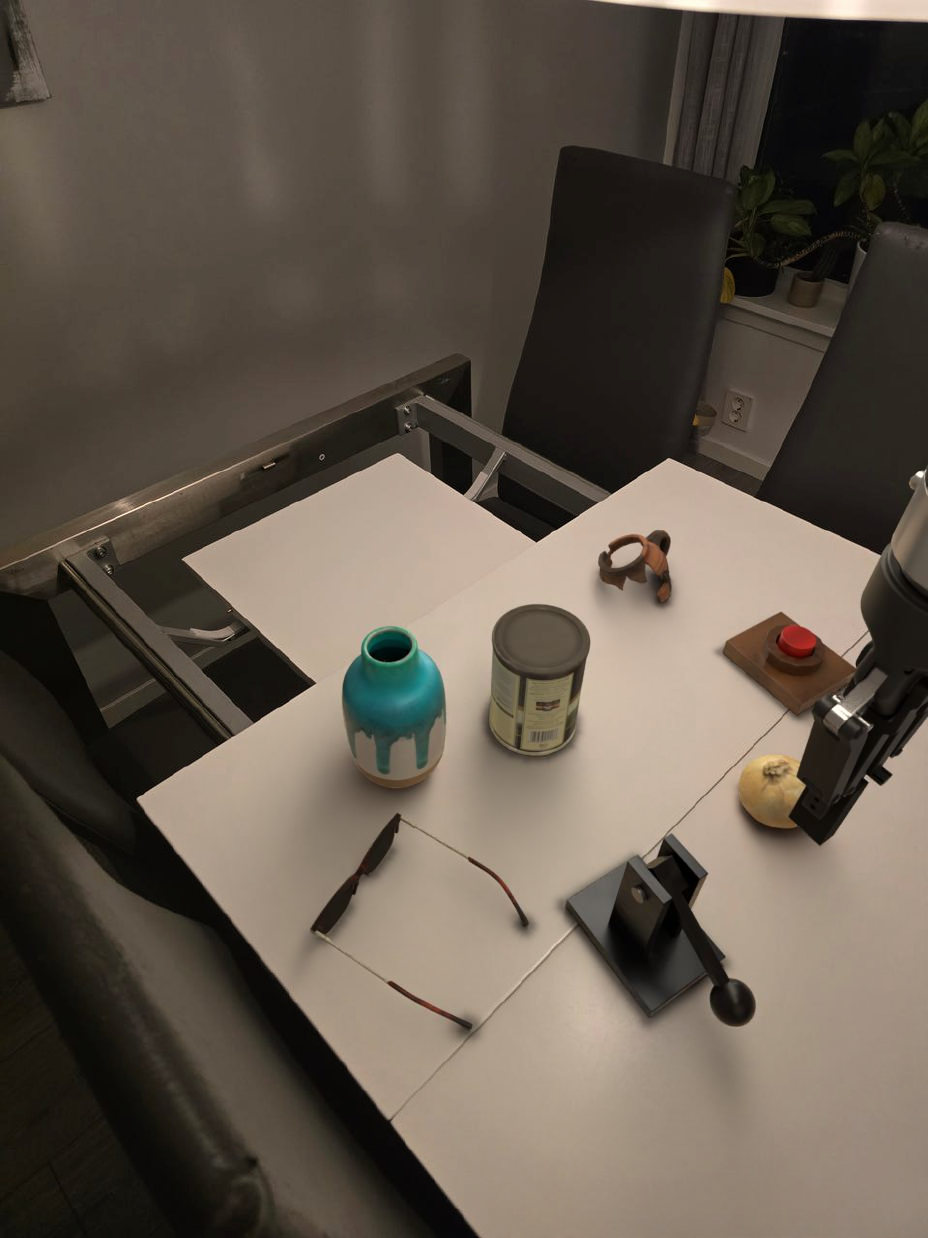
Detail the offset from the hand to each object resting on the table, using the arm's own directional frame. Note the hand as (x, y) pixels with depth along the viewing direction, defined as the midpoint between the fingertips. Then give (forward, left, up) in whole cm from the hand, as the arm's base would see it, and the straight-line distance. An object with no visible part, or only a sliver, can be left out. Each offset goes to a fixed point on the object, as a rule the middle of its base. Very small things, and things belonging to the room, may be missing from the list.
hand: (810, 825), depth 54 cm
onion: (+9, -17, -25) cm, 31 cm away
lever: (+2, +4, -18) cm, 19 cm away
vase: (+35, +14, -25) cm, 46 cm away
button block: (+22, -34, -25) cm, 47 cm away
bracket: (+6, +4, -25) cm, 26 cm away
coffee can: (+32, -2, -25) cm, 41 cm away
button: (+22, -34, -21) cm, 45 cm away
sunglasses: (+17, +21, -25) cm, 37 cm away
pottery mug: (+44, -29, -25) cm, 58 cm away
